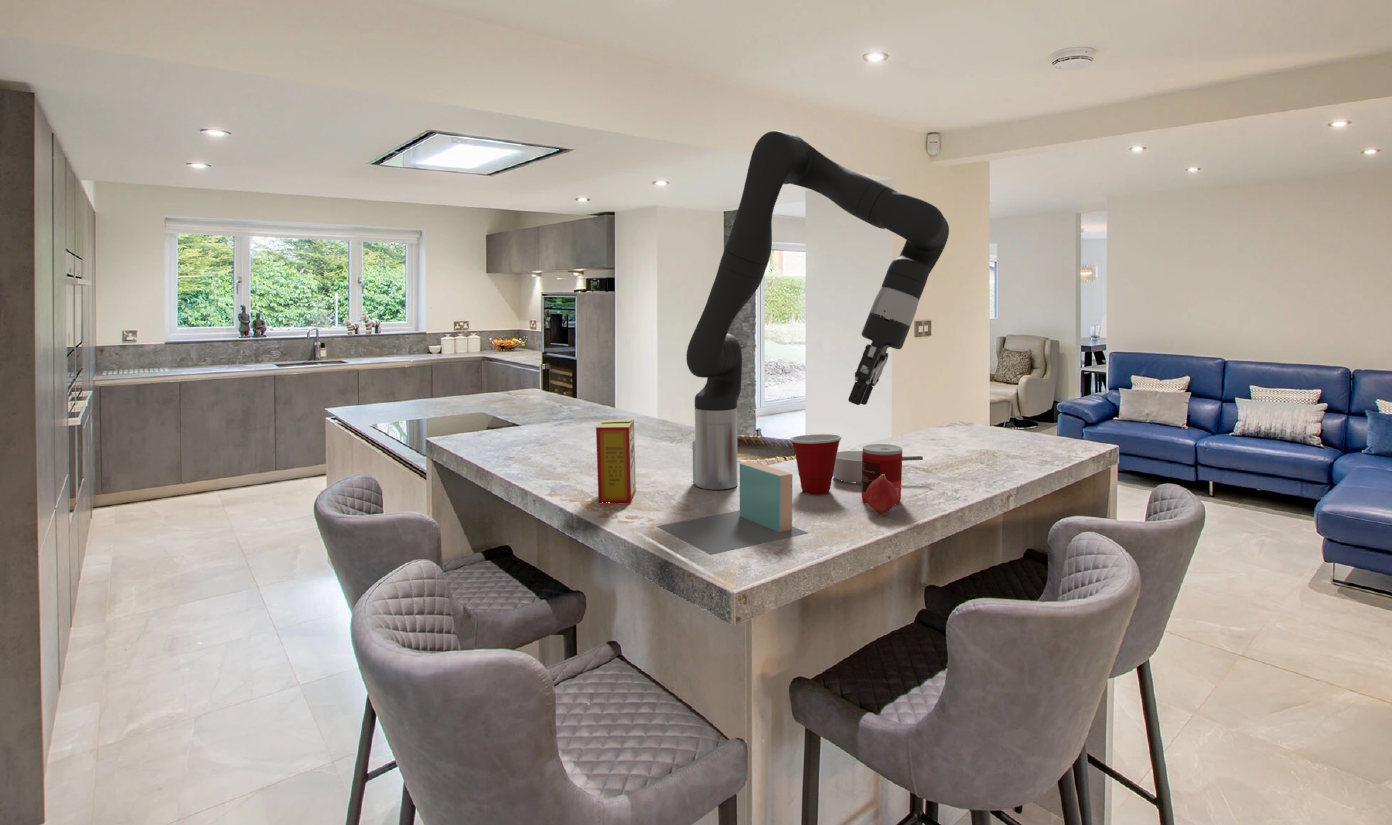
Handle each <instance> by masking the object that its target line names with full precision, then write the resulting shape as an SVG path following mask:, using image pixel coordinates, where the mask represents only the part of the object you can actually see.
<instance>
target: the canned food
mask: <svg viewBox="0 0 1392 825" xmlns="http://www.w3.org/2000/svg"><path fill="white" fill-rule="evenodd" d="M862 451H863V452H862V484H861V499H862V501H863V503H865V504H866V503H867V501H866V497H865V495H866V491H867V488H868V487H869V485H870V484H871V483H872V482H873V481H874V480H876V479H877V478H878V477H880V476H881V474H885V477H886V479H887V480H888V481H890V482H891V483H892V484H893V485H894V487H895V489H896V491H897V494H898V499H897V503H896V505H898V504H900V502H901V499H902V472H903V461H902V457H903V448H902V447H901V446H898V445H895V444H890V443H888V444H885V443H874V444H872V443H871V444H867V445H864V446H862ZM867 505H868V503H867Z"/></svg>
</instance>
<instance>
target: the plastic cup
mask: <svg viewBox="0 0 1392 825" xmlns="http://www.w3.org/2000/svg"><path fill="white" fill-rule="evenodd" d="M841 440H842V435H839V434H833V433H832V434H831V433H829V434H827V433H826V434H825V433H821V434H819V433H818V434H803V435H798V436H793V437H790V438H789V441H790V443H791V444H792V447H793V450H794V453H795V459H796V465H797V466H796V467H797V472H798V476H799V481H800V488H801V491H802V493H804V494H807V495H814V496H819V495H820V496H822V495H827V494H829V493H830V490H831V486H832V480H833V477H834V476H833V472H834V467H835V461H836V455H837V452H838V451H839V450H838V449H839V446H840V445H839V444H840V441H841Z"/></svg>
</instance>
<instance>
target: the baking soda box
mask: <svg viewBox="0 0 1392 825" xmlns="http://www.w3.org/2000/svg"><path fill="white" fill-rule="evenodd" d="M595 433H596V434H595V435H596V436H595V437H596V440H595V441H596V463H597V465H596V467H597V470H596V471H597V495H598V498H597V500H598V504H599V503H602V502H603V503H606V502H607V503H608V502H610V503H631V504H632V502H633V500H634V496H635V494H636V492H637V491H636V490H637V488H636V455H635V454H636V453H635V452H636V451H635V419H602V420H601V422H599V424H598V425H597V426H596V427H595ZM632 499H633V500H632Z"/></svg>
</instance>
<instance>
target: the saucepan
mask: <svg viewBox="0 0 1392 825" xmlns="http://www.w3.org/2000/svg"><path fill="white" fill-rule="evenodd" d="M862 452H863V450H859V449H858V450H856V449H855V450H853V449H851V450H838V451H837V455H836V461H835V467H834V472H833V477H834V478H835V479H839V481H840V480H842V481H845V482H844V483H847V482H856V483H862ZM904 461H905V462H907V461H923V456H922V455H915V456H914V455H913V456H912V455H910V456H908V455H907V456H902V462H904ZM842 481H841V482H842ZM856 483H855V484H856Z"/></svg>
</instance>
